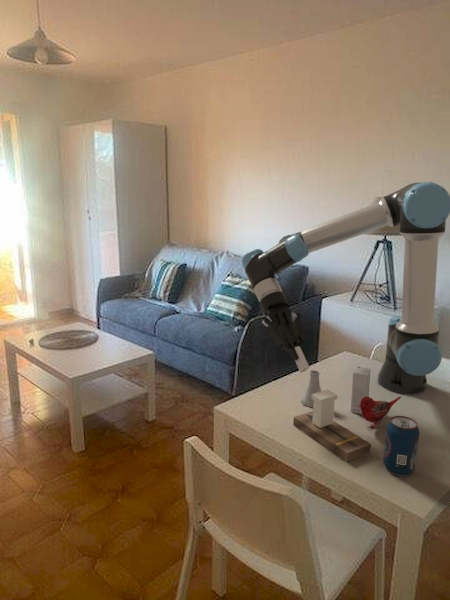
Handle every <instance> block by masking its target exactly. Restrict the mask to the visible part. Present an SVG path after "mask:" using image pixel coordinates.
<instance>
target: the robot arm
mask: <svg viewBox="0 0 450 600" xmlns="http://www.w3.org/2000/svg"><path fill="white" fill-rule="evenodd" d="M449 216H450V194H449V192H448V191H447V190H446V189H445V187H443V186H442V185H440V184H438V183H436V182H433V181H424V182H423V181H422V182H412V183H410V184H408V185H406V186H404V187H402V188H399V189H398V190H396V191H394V192H392V193H390V194H387V195H384V196H382V197H381V198H380V200H379V202H376V203H372V204H370V205H367V206H365V207H361V208H359V209H357V210H354V211H352V212H349V213H346V214H342V215H341V216H338V217H336V218H333V219H330V220H327V221H325V222H324V221H323V222H322V223H319V224H317V225H314V226H312V227H309V228H306V229H303V230H301V231H299V232H295V233H292V234H288V235H285V236H282V238H281V239H279V242H278V243H277V244H276V245H275V246H273V247H271V248H270V249H268V250H266V251H264V250H262V249H260V248H257V249H256V248H255V249H253V250H249V251H247V252H246V253H245V254H244V255H243V256H242V259H241V263H242V266H243V269H244V273H245V274H246V276H247V278H248V281H249V282H250V284H251V287H252V288H253V292H254V294H255V296H256V298H257V300H258V302H259V305H260V308H261V310H262V311H263V313H264V314H265V318H264V319H263V320H262V321H261V323H260V324H261V326H263V327H264V328H265V329H266V331H267V332H268V333H269V335H270V336H271V337H272V339H273V340H274V342H275V343H276V344H277V346H278V347H279V349H280V350H281V351H284V350H285V353H289V356H290V357H291V359H292V361H293V362H295V364H296V366H297V368H298V371H299V372H300V373H304V372H306V371H307V370H308V369H309V368H310V366H309V363H308V361H307V358H306V357H307V355H306V353H305V351H304V348H303V345H305V343H307V342H306V338H305V333H304V329H303V326H302V321H301V313H300V312H297V313H295V312H293V311H292V309H291V308H289V305H288V300H287V298H286V296H285V294H284V292H283V289H282V287H281V285H280V283H279V281H278V279H277V277H276V275H277V274H280V273H281V272H282V271H284V270H286V269H288V268H290V267H291V266H294V265H295V264H297V263H299V262H301V261H302V260H303V259H305V258H306V257H308V256H309V254H311V253H313V252H316V251H320V250H321V249H325V248H328V247H330V246H333V245H336V244H339V243H341V242H345V241H347V240H350V239H353V238H356V237H358V236H361V235H363V234H368V233H369V232H370V233H371V232H374V231H375V230H378V229H381V228H384V227H389V228H390V227H391V228H395V227H397V226H399V234H400V235H401V237H403V238H404V255H403V277H402V278H403V281H402V298H401V299H402V302H401V303H402V304H401V315H395V316H394V315H393V316H391V317H390V318H389V321H388V325H387V326H388V328H387V340H386V347H385V348H386V349H385V359H384V361H383V364H382V366H381V368H380V371H379V372H378V375H377V383H378V385H380V386H381V388H382V387H383V388H384V389H386V390H389V391H392V392H395V393H400V394H409V395H412V394H415V395H416V394H420V393H423V392H425V391H426V390H427V384H428V380H427V375H429V374H432V373H433V372H434V371H436V370H437V369H438V367H440V364H441V362H442V360H443V359H442V355H443V354H442V350H441V348H440V346H439V335H440V334H439V333H440V328H439V326H438V325H437V324H436V323H435V322H434V321H435V320H434V319H435V304H436V303H435V301H436V287H437V286H436V285H437V273H438V272H437V270H438V253H439V239H440V237H442V236H443V235H444V234H445V233H446V224H447V223H446V221H447V219H448V217H449Z"/></svg>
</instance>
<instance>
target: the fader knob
mask: <svg viewBox="0 0 450 600" xmlns="http://www.w3.org/2000/svg"><path fill="white" fill-rule="evenodd" d="M311 399H313V400H314V404H313V407H312V411H313V420H312V423H313V424H315V425H316V426H318V427H320V428H321V427H324V426H327V425H330V424H333V421H334V413H335V412H334V411H335V401H336V400H338V394H337V393H335V392H333V391H331V390H330V389H326V390H321V392H318V393H314V394H312V395H311Z"/></svg>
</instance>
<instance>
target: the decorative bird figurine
mask: <svg viewBox="0 0 450 600" xmlns="http://www.w3.org/2000/svg"><path fill="white" fill-rule="evenodd" d="M401 398H402V396H399V397H397V398H394V399H393V400H391V401H389V402H388V401H386V400H385V401H384V400H374V399H373V398H372V397H370V396H369V397H364V398H363V399H362V400H361V403H360V405H359V407H361V411H362V414H361V415H362V417H363V418H364V420H366V421H368V422H369V423H372V424H371V425H370V426H367V429H369V428H370V429H371V428H375V427H376V426H378V425H380V421H381V420H382V419H383V418H384V417H385V416H386V415H388V414H389V412H390V410H391V409H392V406H393V405H395V404H396V403H397V402H398V401H399V400H400V399H401Z"/></svg>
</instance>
